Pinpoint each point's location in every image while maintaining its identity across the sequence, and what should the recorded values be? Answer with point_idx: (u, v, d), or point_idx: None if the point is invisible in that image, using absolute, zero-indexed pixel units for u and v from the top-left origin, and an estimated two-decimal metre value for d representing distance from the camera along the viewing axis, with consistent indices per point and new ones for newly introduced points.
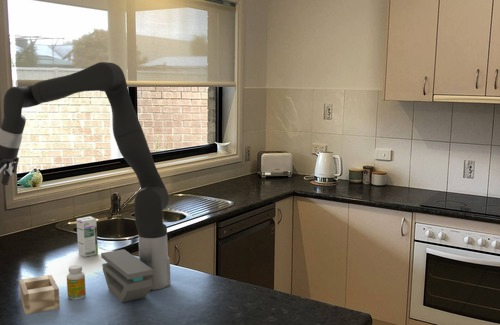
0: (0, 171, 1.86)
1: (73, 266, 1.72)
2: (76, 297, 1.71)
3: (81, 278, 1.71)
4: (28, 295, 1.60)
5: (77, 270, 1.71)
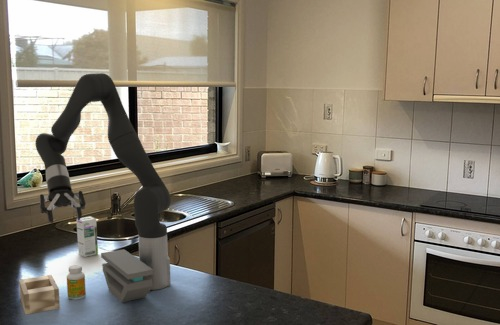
0: (54, 201, 1.83)
1: (73, 266, 1.72)
2: (76, 297, 1.71)
3: (81, 278, 1.71)
4: (28, 295, 1.60)
5: (78, 270, 1.71)
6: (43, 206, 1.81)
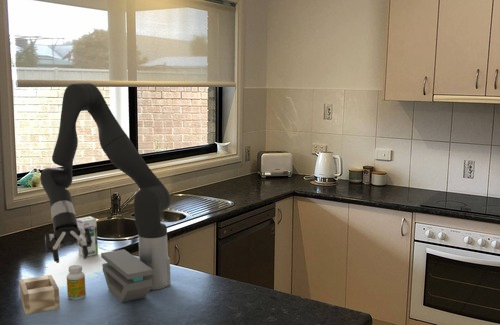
0: (60, 240, 1.78)
1: (73, 266, 1.72)
2: (76, 297, 1.71)
3: (81, 278, 1.71)
4: (28, 295, 1.60)
5: (78, 270, 1.71)
6: (48, 245, 1.76)
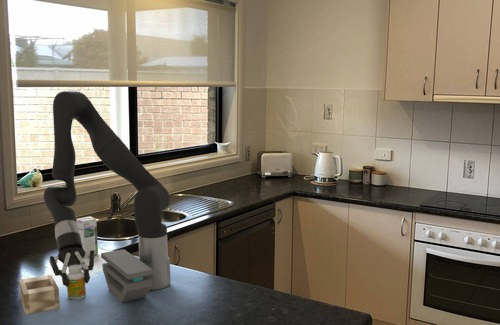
0: (67, 261, 1.73)
1: (73, 266, 1.72)
2: (75, 297, 1.71)
3: (81, 278, 1.71)
4: (28, 295, 1.60)
5: (77, 270, 1.71)
6: (57, 268, 1.71)
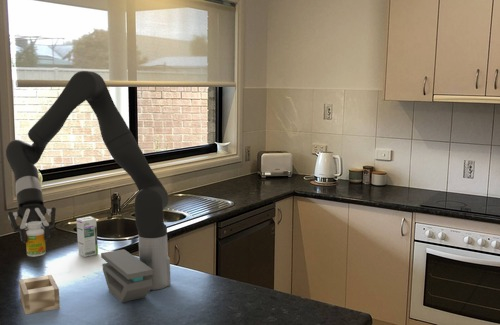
0: (26, 217, 1.66)
1: (32, 222, 1.65)
2: (34, 254, 1.64)
3: (40, 235, 1.64)
4: (28, 295, 1.60)
5: (37, 226, 1.64)
6: (15, 224, 1.64)
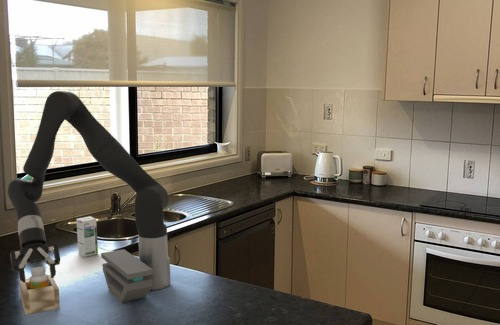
0: (27, 257, 1.67)
1: (36, 268, 1.67)
2: None
3: (44, 281, 1.66)
4: (28, 295, 1.60)
5: (40, 273, 1.66)
6: (14, 264, 1.65)
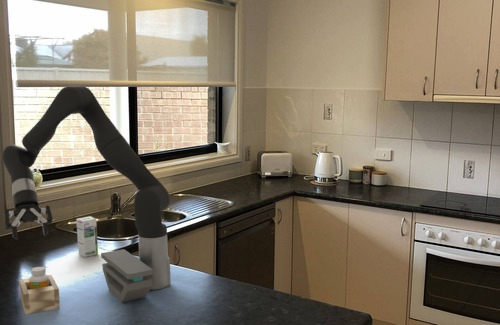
0: (19, 216, 1.77)
1: (36, 268, 1.68)
2: None
3: (44, 281, 1.66)
4: (28, 295, 1.60)
5: (40, 272, 1.66)
6: (7, 222, 1.75)
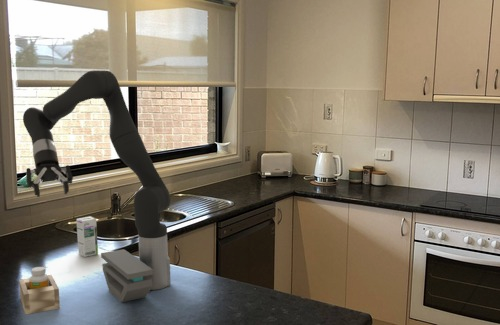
0: (41, 175, 1.81)
1: (36, 268, 1.68)
2: None
3: (44, 281, 1.66)
4: (28, 295, 1.60)
5: (40, 273, 1.66)
6: (29, 179, 1.79)
